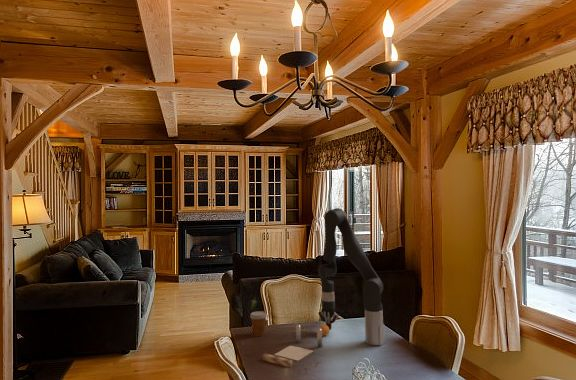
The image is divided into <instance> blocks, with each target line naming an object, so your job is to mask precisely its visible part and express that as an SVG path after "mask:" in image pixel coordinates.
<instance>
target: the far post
mask: <svg viewBox="0 0 576 380" xmlns="http://www.w3.org/2000/svg"><path fill="white" fill-rule="evenodd" d="M301 326H302V325H301V324H300V323H297V324H295V342H296V343H297V344H300V343H301V342H302V331H301Z"/></svg>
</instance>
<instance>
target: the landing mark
mask: <svg viewBox="0 0 576 380" xmlns="http://www.w3.org/2000/svg"><path fill="white" fill-rule="evenodd" d="M313 352H314V350H311V349H307V348H303V347H299V346H296V345H295V346H294V345H289V346H287V347H285V348H283V349H282V350H280V351H278V352H276V353H274V354H273V355H274V356H278V357H282V358H286V359H290V360H293V361H297V362H299V361H301V360H302V359H303V358H305V357H307V356H309V355H310V354H311V353H313Z"/></svg>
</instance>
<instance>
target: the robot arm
mask: <svg viewBox="0 0 576 380" xmlns="http://www.w3.org/2000/svg"><path fill="white" fill-rule="evenodd" d="M336 228H338V230H339V232H340V234H341V238H342V247H343V250H344V253H345V255H346V257H347V258H348V260H349V262H350V263H351V265H353V266H354V268H356V269H357V270H358V272H359V273H360V275H361V276H362V278H363V281H364V284H363V285H362V286H363V287H362V296H363V297H362V299H363V306H364V329H365V330H364V331H365V332H364V333H365V336H364V338H365V343H366V344H367V345H370V346H382V345H384V343H386V335H385V334H386V333H385V332H386V331H385V326H386V325H385V323H384V315H383V313H384V312H383V310H384V309H383V308H384V307H383V304H382V297H381V295H382V293H383V291H384V284H383V281H382V280H381V278H380V277H379V276H378V274H377V272H376V271H375V269H374V268H373V266H372V264H371V262H370V260H369V257H368V256H367V254H366V252H365V251H364V248H363V247H362V245H361V243H360V241H359V240H358V238H357V235H356V233H355V231H354V230H353V228H352V227H351V224H350V220H349V219H348V217H347V215H346V212H345V211H344V210H343V209H342V208H337V207H336V208H334V209H329V210H328V211H326V212H325V215H324V248H323V254H322V255H323V256H322V259H323V260H324V261H325V262H328V263H325V264H319V266H318V269H317V272H318V276H319V280H320V283H321V295H320V296H321V309H320V311H318V313H317V314H318V315H319V317H320V320H321V321H322V322H323V323H324V324H325V325H327V326H328V327H329V331H331V330H332V324H333V323H335V322H336V320H338V318H339V316H340V314H338V313H336V300H335V298H336V297H335V283H334V280H330V279H328V278H327V277H334V276H335V275H336V274H337V270H338V267H337V261H336V258H337V257H336V256H337V250H338V247H337V246H338V245H337V241H336V230H337V229H336Z"/></svg>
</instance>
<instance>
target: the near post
mask: <svg viewBox="0 0 576 380" xmlns="http://www.w3.org/2000/svg"><path fill="white" fill-rule="evenodd" d="M316 344H317V345H316V347H317V348H318V349H320V348H321V349H322V348H323V335H322V329H321V328H319V327H318V328H316Z"/></svg>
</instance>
